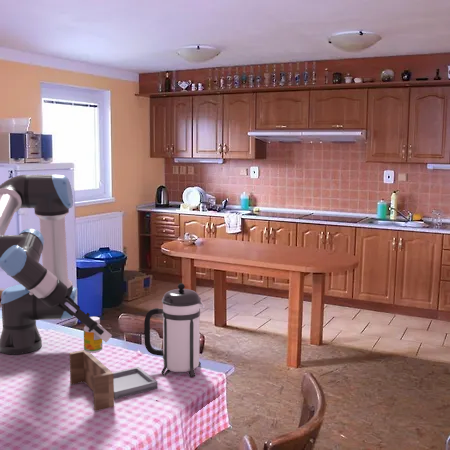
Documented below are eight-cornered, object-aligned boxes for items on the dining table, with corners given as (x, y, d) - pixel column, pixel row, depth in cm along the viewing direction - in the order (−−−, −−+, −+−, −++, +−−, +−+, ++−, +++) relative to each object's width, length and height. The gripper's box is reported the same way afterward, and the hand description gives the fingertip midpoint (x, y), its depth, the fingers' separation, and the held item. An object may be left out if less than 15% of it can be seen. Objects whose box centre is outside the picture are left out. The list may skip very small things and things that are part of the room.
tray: (97, 382, 177) (97, 375, 177) (138, 373, 185) (138, 366, 185) (114, 399, 166) (114, 392, 166) (157, 388, 173) (157, 381, 173)
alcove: (70, 383, 177) (69, 352, 175) (87, 379, 180) (86, 349, 178) (95, 411, 158) (94, 377, 157) (114, 406, 161) (113, 373, 160)
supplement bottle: (80, 349, 166) (79, 318, 165) (95, 345, 170) (95, 314, 169) (90, 354, 163) (89, 322, 161) (106, 350, 167) (105, 318, 165)
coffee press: (188, 357, 199) (188, 275, 195) (211, 373, 185) (212, 285, 181) (143, 367, 190) (142, 281, 185) (164, 384, 176) (164, 292, 172)
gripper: (31, 291, 164) (86, 336, 175) (47, 307, 148) (107, 355, 159) (49, 272, 166) (103, 317, 177) (67, 285, 150) (125, 334, 161)
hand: (105, 335), depth 168 cm, fingers closed on supplement bottle, 5 cm apart
